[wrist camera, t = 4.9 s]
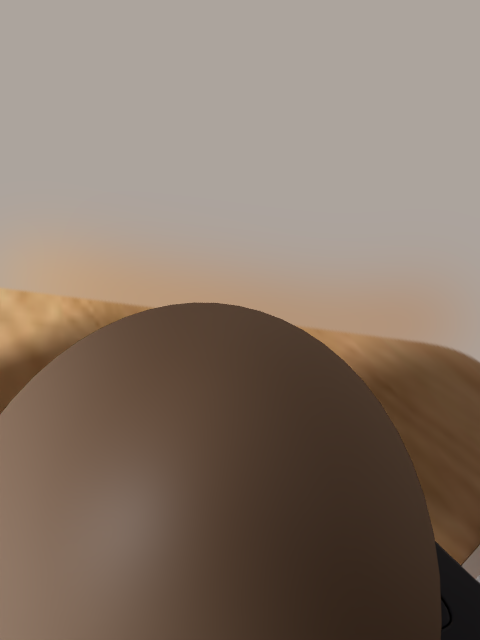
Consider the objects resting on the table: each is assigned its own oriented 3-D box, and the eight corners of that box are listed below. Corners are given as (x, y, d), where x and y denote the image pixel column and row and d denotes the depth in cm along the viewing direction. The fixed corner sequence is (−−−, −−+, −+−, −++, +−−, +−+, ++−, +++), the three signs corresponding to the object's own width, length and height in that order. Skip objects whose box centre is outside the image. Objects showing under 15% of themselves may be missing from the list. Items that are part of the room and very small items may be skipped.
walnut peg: (212, 539, 12) (-30, 1416, 1) (169, 449, 14) (-111, 436, 3) (288, 477, 13) (555, 605, 2) (240, 401, 15) (252, 250, 4)
